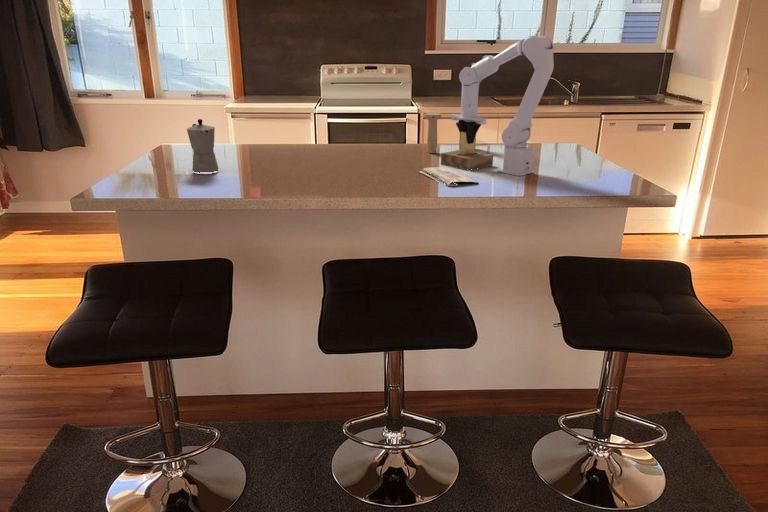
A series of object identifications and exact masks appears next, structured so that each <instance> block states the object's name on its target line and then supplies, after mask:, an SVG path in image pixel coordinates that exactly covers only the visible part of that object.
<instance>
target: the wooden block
mask: <svg viewBox="0 0 768 512" xmlns="http://www.w3.org/2000/svg"><path fill="white" fill-rule="evenodd" d="M459 142H460V149H459V150H460V155H464V156H465V155H470V154H474V151H476V142H475V139H474V143H472V144H468V131H463V132H461V134H460V133H459Z"/></svg>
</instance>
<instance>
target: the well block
mask: <svg viewBox="0 0 768 512" xmlns="http://www.w3.org/2000/svg"><path fill="white" fill-rule="evenodd" d="M493 163H494V154H492V153H486V152H482V151H476V150H475V151H474V154H470V155H465V156H464V155H460V149H456V150H452V151H446V152H441V153H440V165H442V166H447V167H451V168H455V167H457V168H456V169H460V168H462V169H461V170H464V169H468V170H471V169H476V170H478V169H477V168H480V169H483V168H482V167H485V168H488V167H487V166H490V167H492V166H491V165H493ZM468 170H467V171H468ZM471 171H472V170H471Z"/></svg>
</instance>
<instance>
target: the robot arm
mask: <svg viewBox="0 0 768 512" xmlns="http://www.w3.org/2000/svg"><path fill="white" fill-rule="evenodd" d="M554 51H555V46H554V43H553V41H552V39H551V38H550V37H549V35H548V36H547V35H529V36H527V37H525V38H522V39H520V40H519V41H517V42H515V43H513V44H512V45H510V46H509V47H507V48H506V49H504V50H503V51H501V52H500V53H498V54H497V55H495V56H494V55H492V54H491V55H487V54H486V55H484V56H482V59H481V60H479V61H477V62H473V63H471V67H470V66H465V67H463V69H461V71H460V72H459V75H458V79H459V81H460V83H461V99H460V101H461V103H460V114H457V113H452V114H451V121H458V122H456V123H455V126H456V127H457V129H458V132H459V135H460V134H461V132H463V131H468V144H472V143H474V139H475V136H476V137H477V134H478V131H479V129H480V128H481V126H482V125H487V118H486V117H481V116H478V109H479V108H478V105H479V101H478V100H479V89H480V84H481V82H482V81H483V80H484V79H486V78H487V77H489V76H491V75H493V74H495V73H496V72H497V71H498V70H499V68H500V66H501V65H503V64H506V63H507V62H509V61H511V60H513V59H515V58H517V57H518V56H525V57H526V58H527V59H528V61H530V63H531V66H532V67H533V69H534V71H533V74H532V77H531V78H530V80H529V83H528V86H527V88H526V90H525V93H524V95H523V97H522V100H521V102H520V105H519V107H518V109H517V112H516V113H515V116H514V117H513V118H512V119H511V121H510V122H509V124H508V125H507V126H506V128H505V129H504V130H503V131H502V133H501V139H502V142H503V145H504V149H503V150H504V151H503V164H502V165H503V166H502V168H500V169H497V170H496V171H497V172H498V173H499V172H500V173H504V174H509V175H513V176H517V177H522V176H525V175H529V174H533V173H534V170H533V166H534V151H533V149H532V148H528V146H527V142H528V141H529V140H530V138H531V134H532V133H531V129H532V127H533V123H532V120H533V117H534V115H535V113H536V110H537V108H538V106H539V103H540V101H541V98H542V97H543V95H544V91H545V90H546V87H547V86H548V83H549V80H550V78H551V76H552V73H553V71H554V68H555V64H554V63H555V61H554ZM470 120H471V121H470Z"/></svg>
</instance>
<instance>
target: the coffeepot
mask: <svg viewBox="0 0 768 512" xmlns="http://www.w3.org/2000/svg"><path fill="white" fill-rule="evenodd" d="M197 123H198V124H197ZM197 123H193V124H192V125H191V126H189V127H187V128H186V131H187V135H188V139H189V143H190V146H191V149H192V151H193V155H192V171H194V172H199V173H200V172H214V171H218V169H219V170H220V167H219V165H218V161H217V160H218V159H217V158H216V153H215V151H214V147H215V126H212V125H207V124H203V119H201V118H199V119H197Z"/></svg>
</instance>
